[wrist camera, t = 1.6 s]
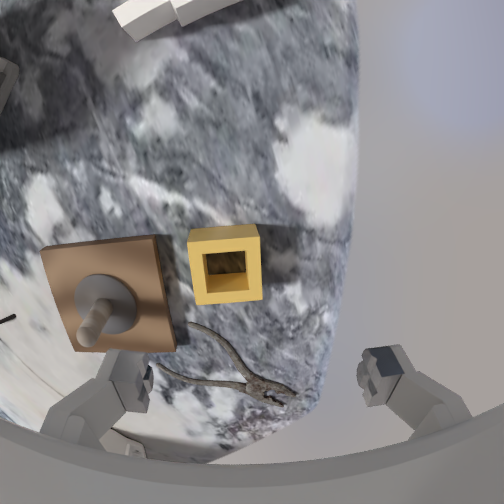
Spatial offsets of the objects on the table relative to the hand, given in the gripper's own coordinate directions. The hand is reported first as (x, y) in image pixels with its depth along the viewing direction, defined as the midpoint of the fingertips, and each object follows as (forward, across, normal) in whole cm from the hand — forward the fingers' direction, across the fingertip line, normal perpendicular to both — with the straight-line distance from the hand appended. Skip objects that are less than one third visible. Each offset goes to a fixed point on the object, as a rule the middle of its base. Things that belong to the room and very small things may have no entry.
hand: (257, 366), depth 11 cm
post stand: (+20, -16, -11) cm, 27 cm away
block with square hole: (+20, -2, -6) cm, 21 cm away
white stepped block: (+23, -7, +20) cm, 31 cm away
